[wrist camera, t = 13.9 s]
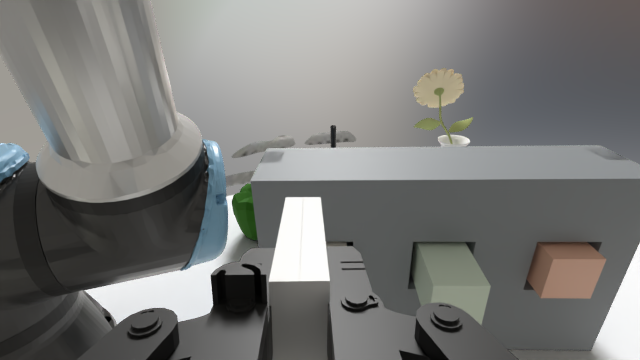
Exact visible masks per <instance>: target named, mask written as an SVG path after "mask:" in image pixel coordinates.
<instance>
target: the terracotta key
mask: <svg viewBox="0 0 640 360" xmlns="http://www.w3.org/2000/svg"><path fill="white" fill-rule="evenodd" d="M605 262H606V258H604V257H603V256H602V255H601V254H600V253H599V252H598V251H596V250H595V249H594V248H593V247H592V246H591V245H590V244H589V243H587V242H537V245H536V249H535V252H534V255H533V259H532V262H531V265H530V269H529V272H528V275H527V280H528V282H529V283H530V285H531V286H532V287H533V289H534V290H535V291H536V293H537V294H538V295H539V297H540V298H584V299H590V298H591V296H592V293H593V291H594V289H595V286H596V284H597V281H598V279H599V276H600V274H601V272H602V269H603V267H604V264H605Z"/></svg>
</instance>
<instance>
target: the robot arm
mask: <svg viewBox="0 0 640 360" xmlns="http://www.w3.org/2000/svg"><path fill="white" fill-rule="evenodd" d="M0 56H1V58H2V60H3V61H4V63H5V65H6V67H7V69H8V70H9V72H10V74H11V76H12V77H13V79H14V81H15V83H16V84H17V86H18V88H19V90H20V92H21V94H22V95H23V97H24V99H25V101H26V103H27V104H28V106H29V108H30V110H31V112H32V113H33V115H34V117H35V119H36V120H37V122H38V124H39V126H40V128H41V129H42V131H43V133H44V135H45V137H46V138H47V142H46V143H45V144H44V146H43V147H42V149H41V150H40V152H39V154H38V156H37V160H36V162H29V161H28V160H29V154H28V153H27V152H25V151H24V150H23V149H22V148H21V147H20V146H19V145H16V144H13V143H8V144H4V143H0V360H518V359H517V358H516V357H515V356H514V355H513V354H512V353H511V352H509V351H508V350H507V349H506V348H505V347H504V346H503V345H502V344H501V343H500V342H499V341H498V340H497V339H495V338H494V337H493V336H492V335H491V334H490V333H489V332H488V331H487V330H486V329H485V328H484V327H482V326H481V325H480V324H479V323H478V322H477V321H476V320H475V319H474V318H473V317H472V316H471V315H469V314H468V313H466V312H465V311H464V310H462V309H460V308H458V307H456V306H453V305H451V304H446V303H440V302H438V303H428V304H425V305H422V306H421V307H420V308H419V309H418V310H417V314H416V317H415V316H410V315H405V314H400V313H397V312H393V311H391V310H389V309H386V308H385V307H384V305H383V302H382V301H381V299H380V298H379V296H377V295H376V294H375V293H373V292H372V289H371V285H370V282H369V279H368V276H367V272H366V270H365V266H364V263H363V260H362V256H361V253H360V252H359V251H357V250H356V249H355V248H354V247H353V246H326V241H325V232H324V223H323V214H322V205H321V197H286V198H285V203H284V208H283V213H282V218H281V223H280V228H279V233H278V238H277V243H276V248H251V249H249V250H248V251H247V252H246V253H244V254H243V255H242V257H241V260H240V262H232V263H229V264H226V265H223V266H221V267H219V268H218V269H216V270H215V271H214V272H213V273H212V274H211V284H212V295H213V307H212V309H211V312H210V313H209V314H207V315H204V316H202V317H198V318H195V319H190V320H186V321H181V322H178V320H177V315H176V314H175V313H174V312H173V311H172V310H169V309H165V308H152V309H146V310H142V311H140V312H137V313H135V314H132V315H130V316H129V317H127V318H126V319H124V320H123V321H121V322H120V323H119V324H118V325H117V324H116V321H115V319H114V318H113V316H112V315H111V314H110V313H109V312H108V311H107V310H106V309H104V308H103V307H102V306H101V305H100V304H99V303H98V302H97V301H96V300H95V299H93V298H92V297H91V296H90V295H89V294H88V293H87V292H85V291H84V290H87V289H92V288H97V287H102V286H106V285H111V284H116V283H121V282H125V281H130V280H135V279H140V278H144V277H149V276H154V275H159V274H163V273H168V272H173V271H178V270H181V271H182V270H186V269H188V268H190V267H191V266H193V265H197V264H200V263H204V262H208V261H211V260H214V259H216V258H217V257H218V256H219V255H220V254H221V253H222V252H223V250H224V248H225V246H226V242H227V234H228V206H227V200H226V178H225V170H224V164H223V158H222V154H221V150H220V147H219V145H218V144H217V143H216V142H214V141H208V140H205V139H202V136H201V133H200V131H199V129H198V127H197V126H196V125H195V123H194V122H192V121H191V120H190V119H189V118H187V117H186V116H184V115H182V114H180V113H178V112H176V108H175V103H174V99H173V95H172V91H171V86H170V81H169V77H168V73H167V69H166V64H165V60H164V55H163V51H162V47H161V42H160V38H159V33H158V29H157V25H156V20H155V16H154V12H153V8H152V3H151V0H0Z"/></svg>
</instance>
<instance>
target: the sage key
mask: <svg viewBox="0 0 640 360" xmlns="http://www.w3.org/2000/svg"><path fill="white" fill-rule="evenodd" d="M410 271H411V274H412V278H413V281H414V284H415V287H416V291H417V294H418V297H419V301H420V304H421V306H422V305H425V304H428V303H438V302H440V303H446V304H451V305H453V306H456V307H458V308H460V309H462V310H464V311H465V312H466V313H468V314H469V315H471V316H472V317H473V318H474V319H475V320H476V321H477V322H478V323H479V324H480V325H481V324H482V320H483V316H484V312H485V308H486V304H487V300H488V296H489V291H490V287H491V286H490V284H489V282H488V280H487V279H486V277H485V275H484V274H483V272H482V270H481V268H480V267H479V265H478V263H477V262H476V260H475V258H474V257H473V255H472V253H471V251H470V250H469V248H468V246H467V245H466V243H465V242H414V243H413V252H412V261H411V270H410Z"/></svg>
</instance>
